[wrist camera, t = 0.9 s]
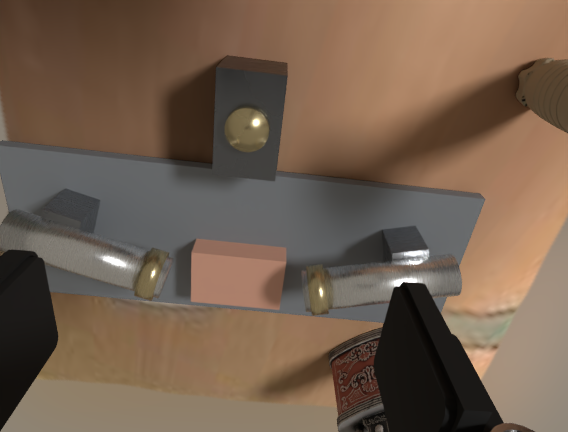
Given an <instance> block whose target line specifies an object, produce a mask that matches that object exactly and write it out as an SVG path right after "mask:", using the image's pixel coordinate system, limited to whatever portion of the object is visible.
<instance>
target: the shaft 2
mask: <svg viewBox="0 0 568 432" xmlns="http://www.w3.org/2000/svg"><path fill="white" fill-rule="evenodd" d="M382 239H383V261H381V262H373V263H364V264H356V265H347V266H338V267H330V268H323V264H320V265H312V266H306V270H304V271H301V277H302V287H303V296H304V303H305V309H306V312H312V316H315V315H324V314H329V311H328V310H330V309H339V308H348V307H358V306H367V305H376V304H385V303H390V299H391V296H392V292H393V289H394V287H396V286H398V287H400V285H401V283H402V282H414V283H423V284H425V285H426V287H427V288H428V290H429V292H430V294H431V296H432V298H440V297H449V296H458V295H460V293H461V289H462V279H461V273H460V269H459V265H458V262H457V260H456V258H455V257H454V255H453V254H442V255H433V256H429V248H428V246H427V245H426V243H425V241H424V239H423V238H422V236H421V234H420V232H419V230H418V229H417V227H416V225H415V226H407V227H399V228H390V229H382Z"/></svg>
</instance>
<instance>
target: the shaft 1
mask: <svg viewBox="0 0 568 432" xmlns="http://www.w3.org/2000/svg"><path fill="white" fill-rule="evenodd" d="M100 201H101V200H99V199H96V198H93V197H90V196H87V195H84V194H81V193H78V192H75V191H72V190H69V189H66V188H65V189H64V190H63V191H62V192H61V193H60V194H59V195H57V196H56V197H55V198H54V199H53V200H52V201H51V202H49V203H48V204H47V205H46V206H45V207H44V208H43V209H42V211H41V216H38V215H35V214H32V213H29V212H26V211H23V210H19V209H15V210H13V211H11V212H10V213H9V214H8V215H7V216H6V218H5V219H4V220H3V222H2V224H1V226H0V251H1V252H4V253H5V252H6V251H8V250H11V249H13V250H25V251H34V252H36V254H37V255H38V257H41V258H42V259H43V260H44V263H45V265H48V266H51V267H55V268H58V269H61V270H65V271H68V272H72V273H75V274H78V275H82V276H85V277H88V278H92V279H95V280H98V281H102V282H105V283H109V284H112V285H115V286H119V287H122V288H125V289H129V290H132V291H135V293H134V296H137V297H140V298H143V299H147V300H150V301H152V299H153V297H156V298H159V297H160V295H161V292H162V290H163V287H164V284H165V282H166V279H167V276H168V273H169V271H170V268H171V265H172V261H173V258H171V257H169V252H166V251H163V250H160V249H157V248H152V249H151V250H150V251H149V250H146V249H143V248H139V247H136V246H133V245H130V244H127V243H124V242H120V241H117V240H114V239H111V238H108V237H105V236H102V235H98V234H95V233H94V230H95V225H96V220H97V215H98V210H99V206H100Z"/></svg>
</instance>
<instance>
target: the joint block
mask: <svg viewBox="0 0 568 432" xmlns="http://www.w3.org/2000/svg"><path fill="white" fill-rule="evenodd" d="M287 76H288V71H287V63H284V62H276V61H268V60H260V59H252V58H244V57H236V56H228V55H227V56H226V57H225V58H224V59H223V60H222V61H221V62H220V63H219V65H218V66H217V67H216V85H215V112H214V139H213V166H212V175H221V176H230V177H239V178H248V179H257V180H266V181H275V179H276V170H277V162H278V153H279V145H280V136H281V128H282V119H283V111H284V102H285V94H286V85H287Z"/></svg>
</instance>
